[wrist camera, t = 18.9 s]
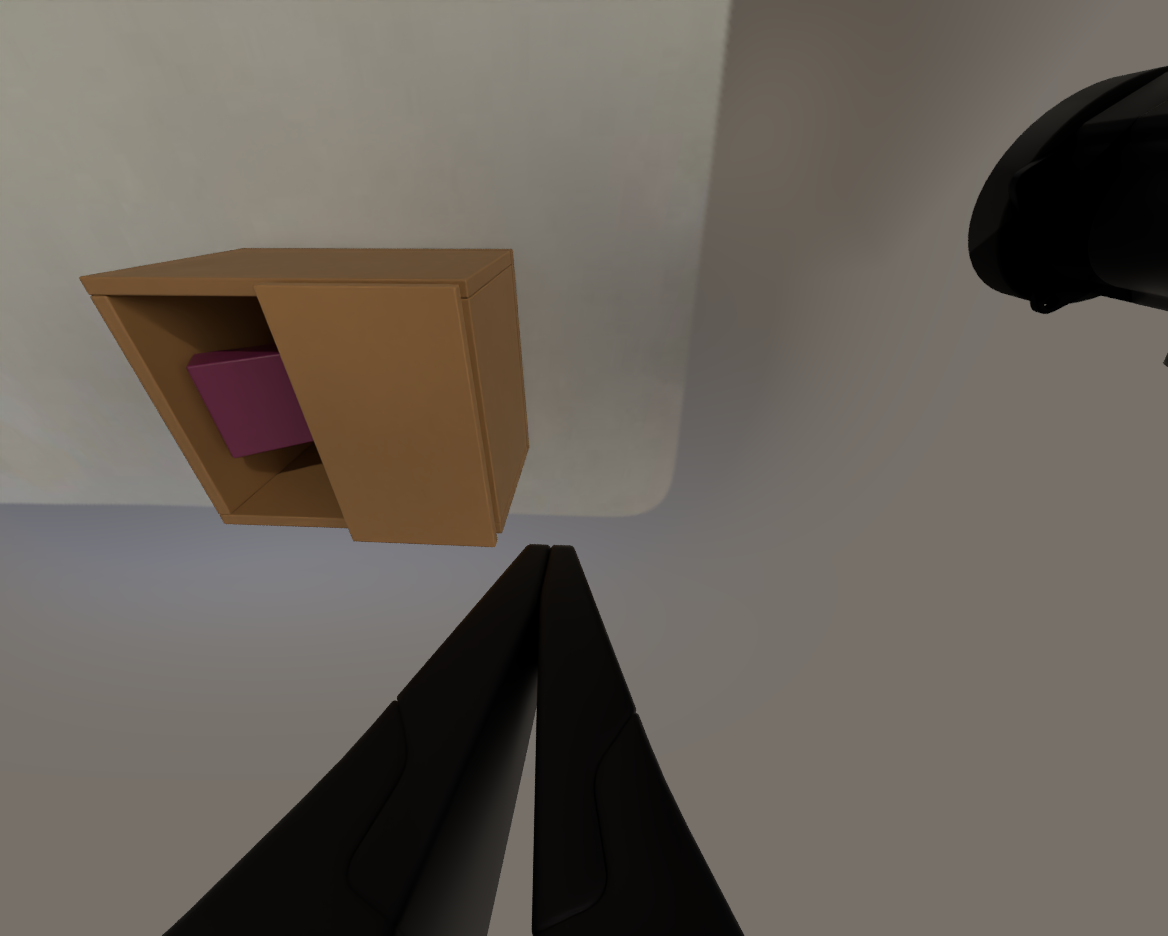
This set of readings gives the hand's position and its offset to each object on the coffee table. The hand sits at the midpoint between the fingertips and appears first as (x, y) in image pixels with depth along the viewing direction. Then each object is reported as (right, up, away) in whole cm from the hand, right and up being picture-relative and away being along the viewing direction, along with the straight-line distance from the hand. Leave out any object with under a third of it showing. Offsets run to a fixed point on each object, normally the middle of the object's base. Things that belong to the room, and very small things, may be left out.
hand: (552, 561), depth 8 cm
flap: (-5, +3, +6) cm, 8 cm away
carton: (-8, +7, +12) cm, 15 cm away
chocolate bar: (-9, +5, +10) cm, 14 cm away
